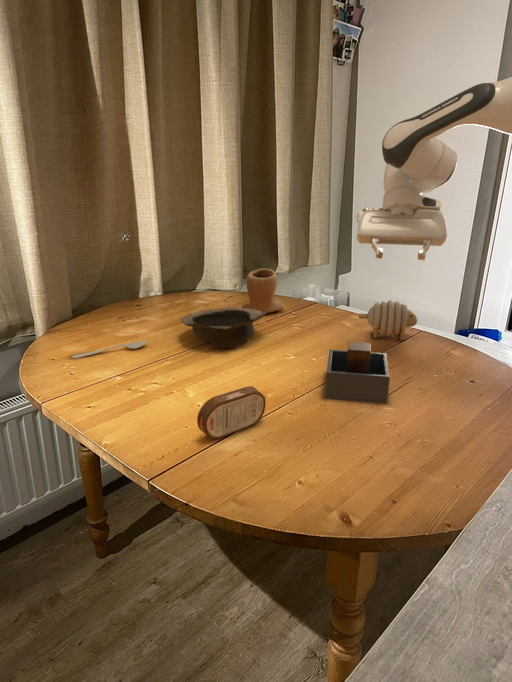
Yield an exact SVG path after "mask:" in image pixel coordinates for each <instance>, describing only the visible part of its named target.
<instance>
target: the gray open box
mask: <svg viewBox="0 0 512 682" xmlns="http://www.w3.org/2000/svg"><path fill="white" fill-rule="evenodd" d="M347 355H348V350H344V349H329V351H328V358H327V366H326V374H325V392H324V399H325V400H326V399H327V400H340V401H350V402H363V403H373V404H374V403H375V404H384V405H385V404H388V398H389V397H388V395H389V386H390V370H389V363H388V356H387V353H386V352H373V351H371V355H370V366H369V374H363V373H350V372H346V369H347Z"/></svg>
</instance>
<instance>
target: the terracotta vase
mask: <svg viewBox="0 0 512 682" xmlns="http://www.w3.org/2000/svg"><path fill="white" fill-rule="evenodd" d="M278 280H279V279H278V276H277V272H276V271H275V270H274V269H272V268H265V267H264V268H262V267H261V268H256V269H254V270H251V271H250V272H249V273H248V274H247V275H246V290H247V294H248V297H249V302H248V303H244V304H242V305H241V307H240V308H245V309H253V310H257V311H261V313H263V312H267V313H266V314H269V313H273V312H278V311H283V310H284V309H285V307H284V306H285V305H284V304H283V303H282V300H281V298H279V297H275V294H276V291H277V287H278V283H279V282H278Z"/></svg>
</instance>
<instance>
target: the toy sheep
mask: <svg viewBox="0 0 512 682" xmlns="http://www.w3.org/2000/svg"><path fill="white" fill-rule="evenodd" d="M358 318H359V319H363V320H364V319H367V322H368V325H369V326H370V327H371V328H372V333H373V336H372V337H373V338H374V339H378V337H379V334H380V335H384V336H385V335H386V336H387V337H390V336H392V335H394V336H397V335H398V336H399V340H401V341H403V340H405V334H406V333H405V332H406V329H407V328H411V327H414V326H416V325H417V323H418V317H417V316H416V314H415V313H414V312H413V311H412V310H410V309H408V306H407V304H406V303H400V301H394V300H392V299H391V300H389V299H388V300H387V301H386V300H382V301H381V302H375V303H374V304H373V306H371V307H370V308H369V310H368V311H367V313H359V314H358Z"/></svg>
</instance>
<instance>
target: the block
mask: <svg viewBox="0 0 512 682" xmlns="http://www.w3.org/2000/svg"><path fill="white" fill-rule="evenodd" d="M371 346H372V345H371V343H370V342H359V341H356V342H355V341H348V343H347V351H348V355H347V369H346V372H350V373H363V374H369V366H370V355H371V352H372V349H371Z"/></svg>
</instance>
